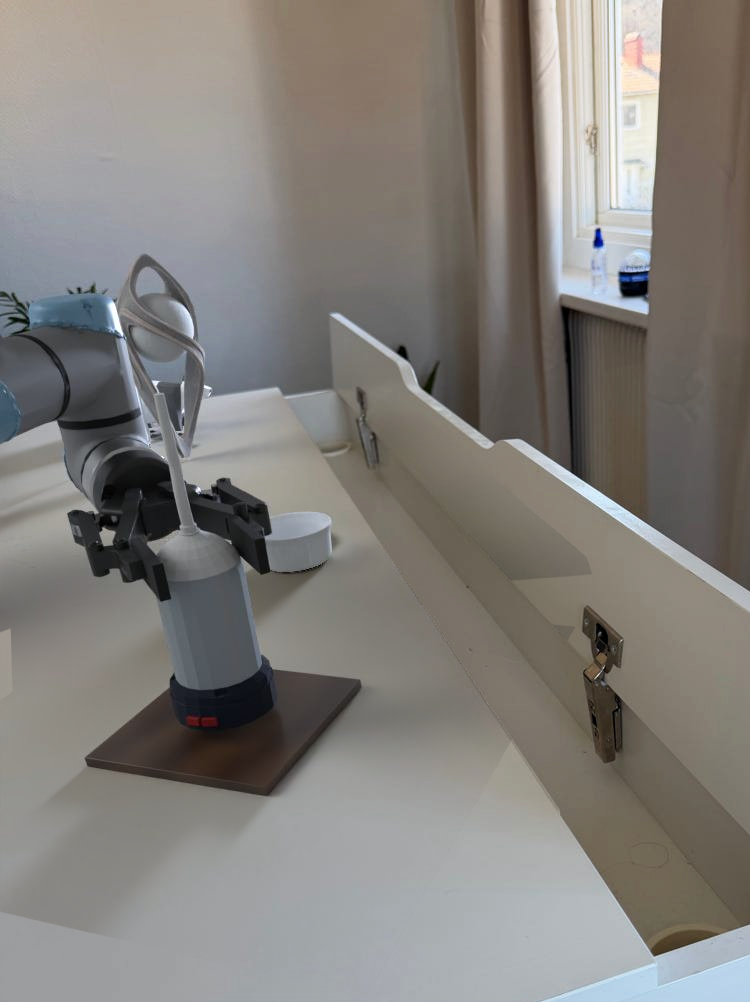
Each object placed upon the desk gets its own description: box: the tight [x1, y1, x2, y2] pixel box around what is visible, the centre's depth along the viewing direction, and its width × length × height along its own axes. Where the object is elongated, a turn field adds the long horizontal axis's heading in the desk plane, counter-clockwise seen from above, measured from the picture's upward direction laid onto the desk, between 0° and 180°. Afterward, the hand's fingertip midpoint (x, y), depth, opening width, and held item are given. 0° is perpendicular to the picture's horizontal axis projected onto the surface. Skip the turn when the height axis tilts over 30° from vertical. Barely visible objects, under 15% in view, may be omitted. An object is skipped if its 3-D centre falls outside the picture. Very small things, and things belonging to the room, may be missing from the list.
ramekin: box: [265, 511, 333, 573], centre depth 110 cm, size 9×9×4 cm
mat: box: [84, 668, 362, 796], centre depth 79 cm, size 16×16×1 cm
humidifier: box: [154, 393, 278, 731], centre depth 73 cm, size 8×8×25 cm
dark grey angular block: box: [141, 375, 213, 431], centre depth 166 cm, size 15×6×10 cm, turn 91°
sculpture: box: [115, 253, 206, 459], centre depth 144 cm, size 12×12×30 cm
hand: (213, 569), depth 69 cm, fingers closed on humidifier, 7 cm apart
